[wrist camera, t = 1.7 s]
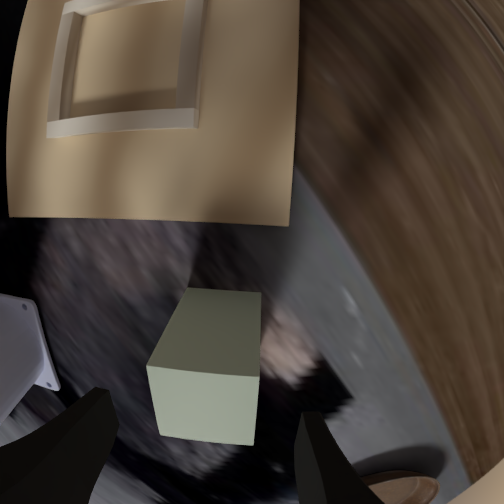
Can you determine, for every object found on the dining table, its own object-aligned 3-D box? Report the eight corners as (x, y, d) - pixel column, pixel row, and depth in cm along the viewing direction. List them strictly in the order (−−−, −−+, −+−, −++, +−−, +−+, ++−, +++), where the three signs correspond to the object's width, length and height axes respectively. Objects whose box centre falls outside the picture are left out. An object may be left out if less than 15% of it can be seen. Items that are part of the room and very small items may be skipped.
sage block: (190, 348, 18) (159, 434, 12) (187, 287, 17) (146, 365, 10) (257, 353, 18) (253, 445, 11) (261, 292, 17) (259, 377, 10)
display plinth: (24, 211, 16) (-2, 220, 14) (47, -17, 11) (27, -29, 9) (286, 219, 16) (290, 232, 13) (297, -54, 11) (301, -78, 8)
